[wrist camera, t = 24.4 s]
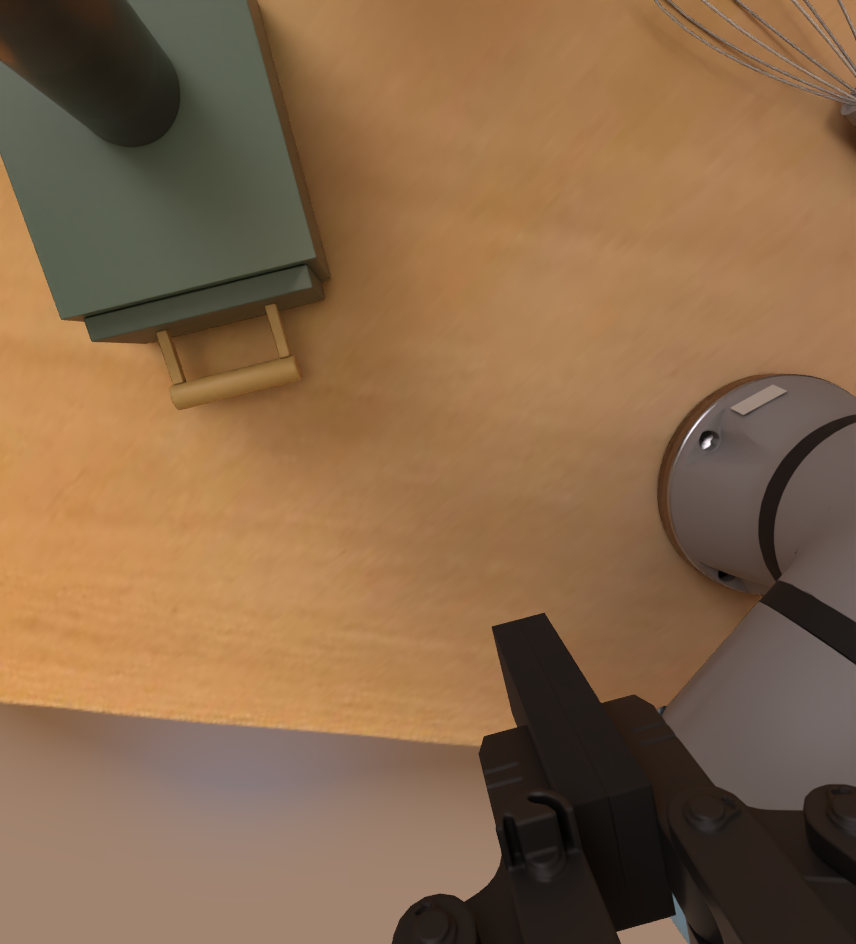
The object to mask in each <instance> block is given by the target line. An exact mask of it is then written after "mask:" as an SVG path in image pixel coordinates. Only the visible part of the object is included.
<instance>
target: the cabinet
mask: <svg viewBox="0 0 856 944" xmlns="http://www.w3.org/2000/svg"><path fill="white" fill-rule="evenodd" d="M127 1H128V2H129V3H130V5H131V6H132V8H133V9H134V10H135V12H136V13H137V14H138V16H139V17H140V19H141V20H142V21H143V23H144V24H145V26H146V27H147V28H148V30H149V31H150V33H151V34H152V35H153V37H154V38H155V39H156V41H157V42H158V44H159V45H160V46H161V48H162V49H163V51H164V52H165V53H166V55H167V56H168V58H169V59H170V61H171V63H172V65H173V67H174V69H175V71H176V74H177V77H178V81H179V87H180V103H179V108H178V112H177V115H176V118H175V120H174V122H173V124H172V125H171V127H170V128H169V129H168V131H167V132H166V133H165V134H164V135H163V136H161V137H160V138H159V139H157V140H156V141H154V142H151V143H149V144H146V145H143V146H137V147H127V146H120V145H116V144H113V143H111V142H108V141H106V140H104V139H103V138H101V137H99V136H98V135H97V134H95V133H94V132H93V131H91V130H90V129H89V128H87V127H86V126H85V125H83V124H82V123H81V122H79V121H78V120H77V119H76V118H74V117H73V116H72V115H70V114H69V113H68V112H66V111H65V110H64V109H62V108H61V107H60V106H59V105H57V104H56V103H55V102H53V101H52V100H51V99H49V98H48V97H47V96H45V95H44V94H43V93H42V92H40V91H39V90H38V89H36V88H35V87H34V86H32V85H31V84H30V83H29V82H27V81H26V80H25V79H23V78H22V77H21V76H19V75H18V74H17V73H15V72H14V71H13V70H12V69H10V68H9V67H8V66H6V65H5V64H4V63H2V62H1V61H0V154H1V157H2V160H3V162H4V165H5V168H6V171H7V173H8V176H9V179H10V182H11V184H12V187H13V190H14V192H15V195H16V198H17V201H18V203H19V206H20V209H21V212H22V214H23V217H24V220H25V222H26V225H27V228H28V231H29V233H30V236H31V239H32V242H33V244H34V247H35V250H36V252H37V255H38V258H39V261H40V263H41V266H42V269H43V272H44V274H45V277H46V280H47V283H48V285H49V288H50V291H51V293H52V296H53V299H54V302H55V304H56V307H57V310H58V313H59V315H60V318H61V320H69V321H70V320H72V321H81V322H84V318H86V317H90V316H94V315H98V314H102V313H107V312H111V311H115V310H119V309H123V308H127V307H131V306H135V305H139V304H143V303H148V302H152V301H156V300H160V299H164V298H168V297H172V296H176V295H180V294H184V293H188V292H193V291H197V290H201V289H205V288H209V287H213V286H217V285H221V284H225V283H229V282H234V281H238V280H242V279H246V278H250V277H254V276H258V275H262V274H266V273H270V272H274V271H279V270H283V269H287V268H291V267H295V266H299V265H303V264H307V265H308V266H309V267H310V269H311V270H312V271H313V272H314V273H315V274H316V276H317V277H318V278H319V279H320V280H321V281H325V280H329V279H331V276H330V272H329V268H328V265H327V261H326V257H325V253H324V249H323V246H322V242H321V238H320V234H319V231H318V227H317V223H316V219H315V216H314V212H313V208H312V204H311V201H310V197H309V193H308V189H307V186H306V182H305V178H304V174H303V171H302V167H301V163H300V159H299V156H298V152H297V148H296V144H295V141H294V137H293V133H292V129H291V126H290V122H289V118H288V114H287V110H286V107H285V103H284V99H283V95H282V92H281V88H280V84H279V80H278V77H277V73H276V69H275V65H274V62H273V58H272V54H271V50H270V47H269V43H268V39H267V35H266V32H265V28H264V24H263V20H262V17H261V13H260V9H259V5H258V2H257V0H127Z"/></svg>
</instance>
